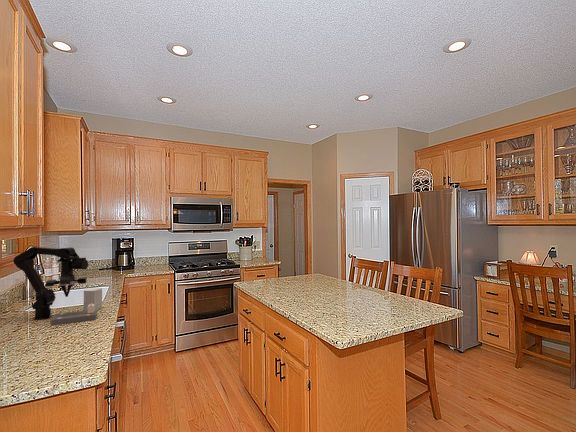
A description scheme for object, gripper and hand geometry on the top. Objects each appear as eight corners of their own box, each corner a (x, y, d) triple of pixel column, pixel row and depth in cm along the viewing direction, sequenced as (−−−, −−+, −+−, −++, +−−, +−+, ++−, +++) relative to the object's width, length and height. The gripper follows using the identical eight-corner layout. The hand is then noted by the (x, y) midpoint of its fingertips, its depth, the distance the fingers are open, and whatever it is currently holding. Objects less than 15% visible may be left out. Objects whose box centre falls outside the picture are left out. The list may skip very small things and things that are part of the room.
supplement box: (102, 308, 197) (102, 288, 198) (94, 311, 190) (94, 290, 190) (91, 307, 198) (92, 287, 198) (83, 310, 191) (83, 290, 191)
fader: (87, 313, 174) (87, 305, 174) (88, 311, 178) (88, 303, 178) (93, 312, 175) (94, 304, 175) (94, 310, 180) (94, 302, 180)
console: (50, 325, 163) (51, 319, 163) (55, 319, 174) (55, 314, 174) (95, 320, 173) (95, 314, 173) (96, 314, 183) (96, 309, 183)
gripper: (43, 272, 166) (43, 301, 166) (85, 270, 175) (84, 297, 174) (48, 270, 176) (47, 297, 175) (87, 267, 185) (86, 293, 184)
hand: (66, 296), depth 177 cm, fingers closed
